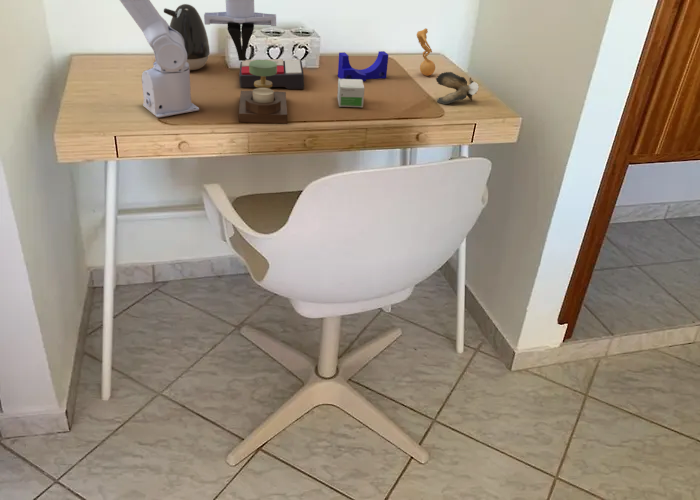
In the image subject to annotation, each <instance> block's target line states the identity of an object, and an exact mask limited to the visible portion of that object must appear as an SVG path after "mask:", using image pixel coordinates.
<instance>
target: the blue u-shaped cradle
mask: <svg viewBox="0 0 700 500" xmlns="http://www.w3.org/2000/svg"><path fill="white" fill-rule="evenodd" d="M349 57H350V56H349V55H348V54H347V53H346V52H345V51H344V52H338V65H337V66H338V67H337V77H338V79H360V80H363V82H366V81H367V80H379V79H387V75H388V64H389V54H388V53H387V52H386V51H384V50H382V51H381V50H379V51H378V53H377V57H376V58H375V60H374V62H373V63H372V64H371V65H370V66H368V67H366V68H364V69H358V68H354V67H353V66H352V65H351V63H350V58H349Z"/></svg>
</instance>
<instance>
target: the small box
mask: <svg viewBox="0 0 700 500" xmlns="http://www.w3.org/2000/svg"><path fill="white" fill-rule="evenodd" d="M336 97H337V98H336V99H337V104H338V108H343V107H344V108H360V109H361V108H364V101H365V100H364V98H365V85H364V81H363V80H360V79H340V78H338V79H337V96H336Z"/></svg>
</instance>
